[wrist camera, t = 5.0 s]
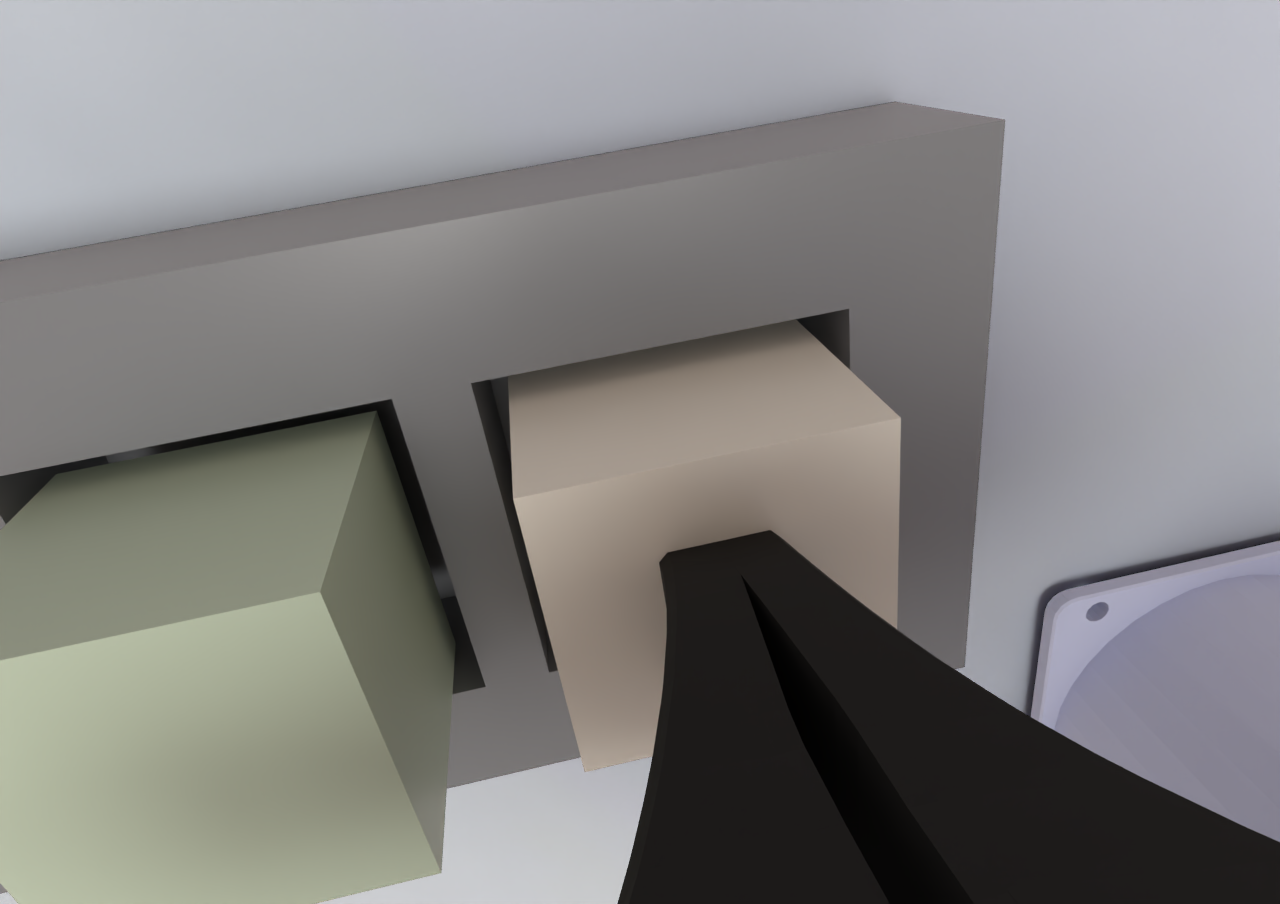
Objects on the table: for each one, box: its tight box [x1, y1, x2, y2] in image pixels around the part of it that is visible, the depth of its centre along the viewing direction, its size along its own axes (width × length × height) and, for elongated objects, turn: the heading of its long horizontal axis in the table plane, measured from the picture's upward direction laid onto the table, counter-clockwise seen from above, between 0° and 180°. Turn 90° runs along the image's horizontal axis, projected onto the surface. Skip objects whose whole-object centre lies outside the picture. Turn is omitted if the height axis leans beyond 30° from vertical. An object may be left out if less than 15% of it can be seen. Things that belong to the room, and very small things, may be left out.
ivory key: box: [508, 319, 901, 772], centre depth 11 cm, size 4×4×4 cm
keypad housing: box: [0, 102, 1005, 894], centre depth 12 cm, size 21×9×3 cm, turn 98°
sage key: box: [0, 411, 456, 904], centre depth 10 cm, size 4×4×4 cm
